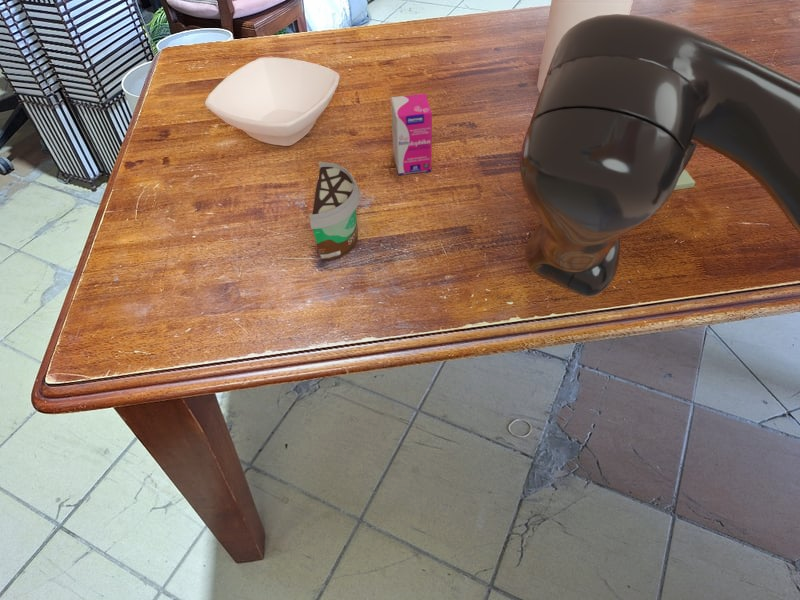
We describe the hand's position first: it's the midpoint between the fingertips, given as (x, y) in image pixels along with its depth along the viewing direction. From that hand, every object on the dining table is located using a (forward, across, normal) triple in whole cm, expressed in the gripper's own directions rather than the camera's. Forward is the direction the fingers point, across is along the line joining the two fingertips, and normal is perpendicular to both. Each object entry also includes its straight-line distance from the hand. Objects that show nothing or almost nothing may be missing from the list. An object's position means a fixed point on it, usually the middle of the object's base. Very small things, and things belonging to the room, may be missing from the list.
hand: (652, 120), depth 79 cm
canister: (+21, +19, +10) cm, 30 cm away
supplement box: (-15, +33, +10) cm, 38 cm away
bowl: (-18, +60, +10) cm, 63 cm away
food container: (-36, +32, +10) cm, 49 cm away
